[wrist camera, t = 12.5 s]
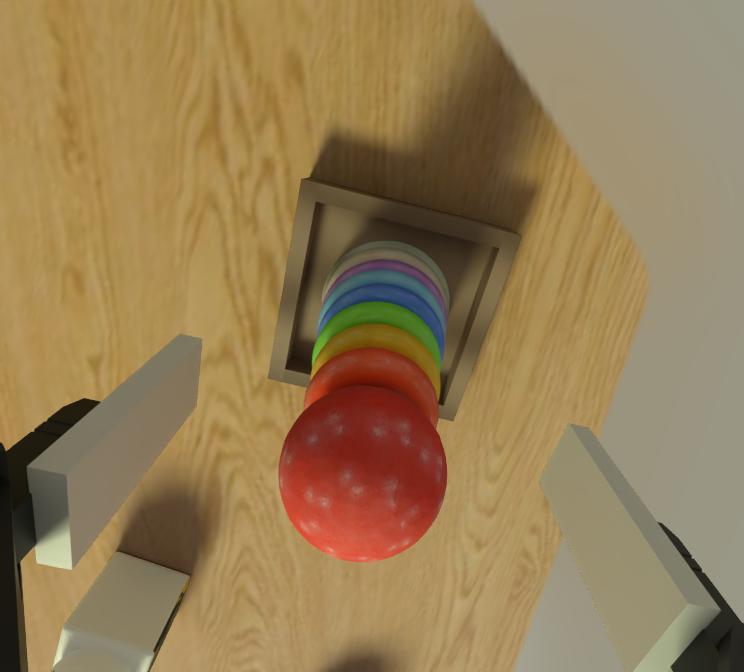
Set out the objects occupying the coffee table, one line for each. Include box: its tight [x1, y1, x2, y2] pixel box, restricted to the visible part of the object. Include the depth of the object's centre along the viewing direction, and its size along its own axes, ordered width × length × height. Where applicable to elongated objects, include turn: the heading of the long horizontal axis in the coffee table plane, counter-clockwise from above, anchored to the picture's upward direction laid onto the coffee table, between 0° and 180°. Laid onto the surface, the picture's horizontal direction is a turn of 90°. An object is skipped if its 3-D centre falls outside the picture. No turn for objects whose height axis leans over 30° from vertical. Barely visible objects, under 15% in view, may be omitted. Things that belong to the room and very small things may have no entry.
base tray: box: [268, 178, 522, 421], centre depth 28 cm, size 13×13×2 cm
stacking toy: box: [279, 247, 448, 562], centre depth 19 cm, size 8×8×19 cm
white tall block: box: [51, 552, 190, 672], centre depth 35 cm, size 7×7×12 cm
